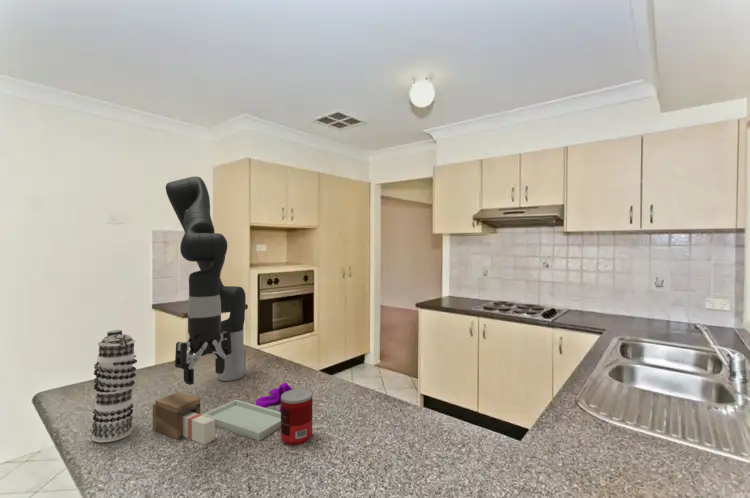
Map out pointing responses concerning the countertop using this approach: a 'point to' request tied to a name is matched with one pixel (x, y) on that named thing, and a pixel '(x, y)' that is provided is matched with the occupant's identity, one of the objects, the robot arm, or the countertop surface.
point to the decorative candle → (114, 388)
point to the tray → (246, 419)
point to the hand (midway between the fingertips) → (205, 378)
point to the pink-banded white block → (198, 427)
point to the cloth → (273, 396)
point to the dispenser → (173, 413)
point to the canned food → (296, 416)
